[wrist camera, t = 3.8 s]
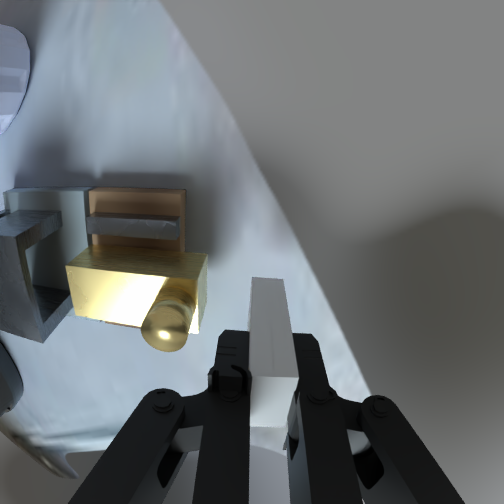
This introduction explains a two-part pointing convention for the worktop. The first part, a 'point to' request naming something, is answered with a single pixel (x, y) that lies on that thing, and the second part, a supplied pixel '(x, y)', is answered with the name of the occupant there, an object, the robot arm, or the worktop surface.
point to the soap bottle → (12, 73)
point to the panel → (75, 225)
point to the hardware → (46, 298)
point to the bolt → (141, 290)
